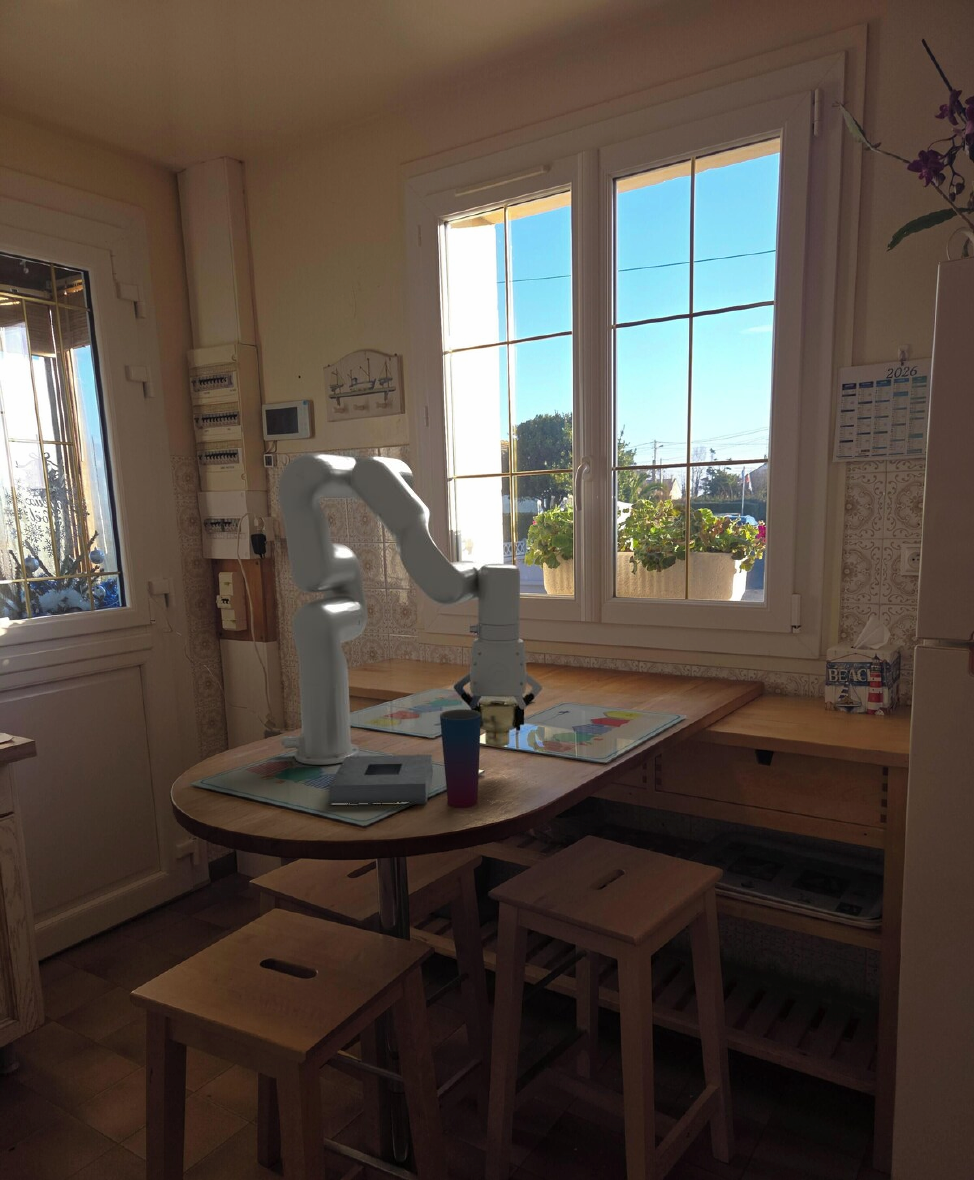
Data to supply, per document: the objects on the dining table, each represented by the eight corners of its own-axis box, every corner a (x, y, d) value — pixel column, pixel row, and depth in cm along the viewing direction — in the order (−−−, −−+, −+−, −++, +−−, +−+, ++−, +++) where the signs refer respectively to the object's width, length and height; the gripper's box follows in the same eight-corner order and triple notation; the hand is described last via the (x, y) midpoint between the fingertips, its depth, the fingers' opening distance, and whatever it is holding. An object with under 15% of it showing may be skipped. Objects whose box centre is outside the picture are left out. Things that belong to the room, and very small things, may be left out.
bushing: (478, 748, 145) (478, 707, 144) (478, 737, 152) (478, 697, 151) (517, 748, 145) (517, 707, 144) (515, 737, 152) (516, 697, 151)
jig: (330, 805, 135) (329, 785, 134) (346, 774, 151) (346, 756, 150) (426, 803, 135) (425, 783, 134) (432, 773, 151) (432, 754, 150)
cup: (491, 801, 135) (489, 713, 134) (463, 812, 130) (461, 721, 129) (462, 792, 140) (459, 707, 139) (433, 803, 135) (431, 715, 134)
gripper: (449, 635, 142) (448, 733, 144) (548, 636, 142) (546, 734, 144) (451, 628, 150) (450, 722, 152) (545, 629, 150) (543, 723, 152)
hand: (497, 727), depth 148 cm, fingers closed on bushing, 7 cm apart
